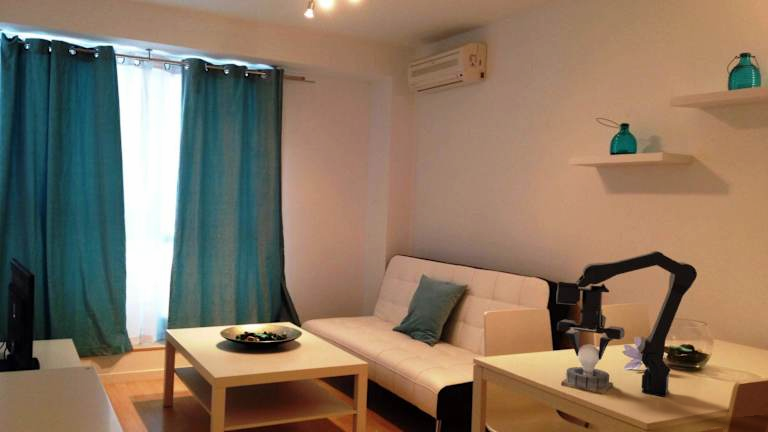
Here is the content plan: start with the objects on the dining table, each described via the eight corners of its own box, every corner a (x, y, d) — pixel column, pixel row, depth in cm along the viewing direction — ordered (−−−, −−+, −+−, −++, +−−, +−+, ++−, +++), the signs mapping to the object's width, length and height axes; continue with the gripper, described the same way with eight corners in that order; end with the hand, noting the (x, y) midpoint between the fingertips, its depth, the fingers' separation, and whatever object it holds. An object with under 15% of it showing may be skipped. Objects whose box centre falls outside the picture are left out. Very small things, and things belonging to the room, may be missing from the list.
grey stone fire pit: (613, 385, 200) (614, 372, 200) (602, 394, 190) (603, 380, 190) (573, 377, 207) (573, 364, 207) (560, 385, 197) (560, 372, 197)
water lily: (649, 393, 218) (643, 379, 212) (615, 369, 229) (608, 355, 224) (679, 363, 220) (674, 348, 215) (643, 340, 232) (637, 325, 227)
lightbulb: (596, 378, 202) (597, 343, 201) (600, 384, 195) (602, 347, 195) (574, 377, 202) (576, 341, 202) (578, 383, 196) (580, 346, 196)
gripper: (630, 306, 200) (627, 358, 200) (569, 299, 210) (567, 348, 210) (620, 311, 190) (618, 365, 191) (557, 303, 201) (555, 354, 201)
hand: (588, 357), depth 198 cm, fingers closed on lightbulb, 6 cm apart
